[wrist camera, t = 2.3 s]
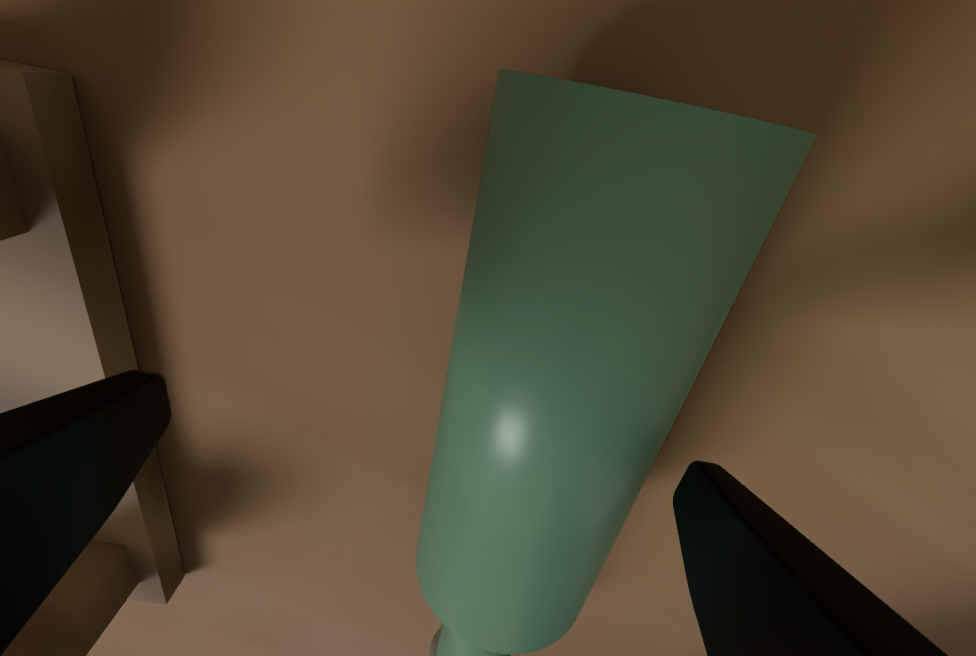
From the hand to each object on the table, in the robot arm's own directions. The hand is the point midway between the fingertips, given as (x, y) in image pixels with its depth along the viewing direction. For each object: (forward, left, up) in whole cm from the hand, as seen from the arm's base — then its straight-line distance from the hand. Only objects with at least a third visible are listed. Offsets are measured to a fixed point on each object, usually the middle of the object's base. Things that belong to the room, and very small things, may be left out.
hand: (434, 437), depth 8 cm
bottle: (-3, 0, -3) cm, 4 cm away
